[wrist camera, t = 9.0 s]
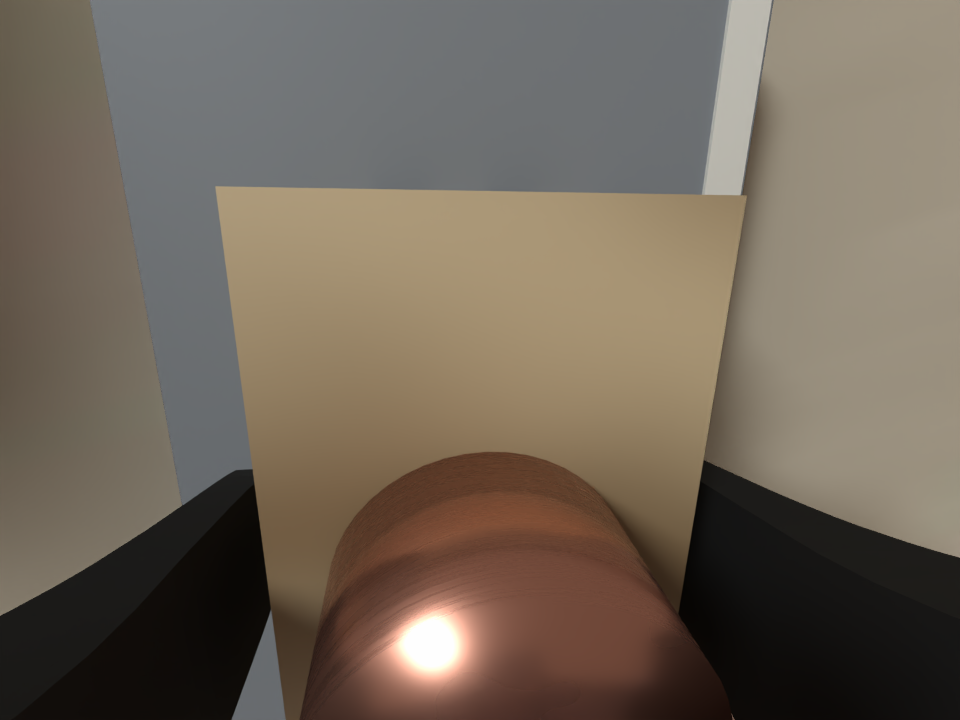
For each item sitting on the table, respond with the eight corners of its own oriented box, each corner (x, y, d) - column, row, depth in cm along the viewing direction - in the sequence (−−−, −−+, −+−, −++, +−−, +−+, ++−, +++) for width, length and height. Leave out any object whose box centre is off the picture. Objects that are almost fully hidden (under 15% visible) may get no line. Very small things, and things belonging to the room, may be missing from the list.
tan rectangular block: (562, 596, 14) (645, 812, 9) (341, 615, 13) (304, 862, 8) (594, 193, 11) (746, 195, 6) (307, 188, 10) (214, 186, 5)
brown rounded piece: (609, 685, 8) (697, 895, 6) (336, 713, 7) (303, 960, 5) (641, 445, 7) (772, 584, 4) (317, 457, 6) (261, 624, 4)
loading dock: (626, 632, 18) (662, 704, 15) (253, 669, 16) (225, 755, 14) (705, 18, 12) (781, -27, 10) (149, -19, 11) (71, -82, 8)
